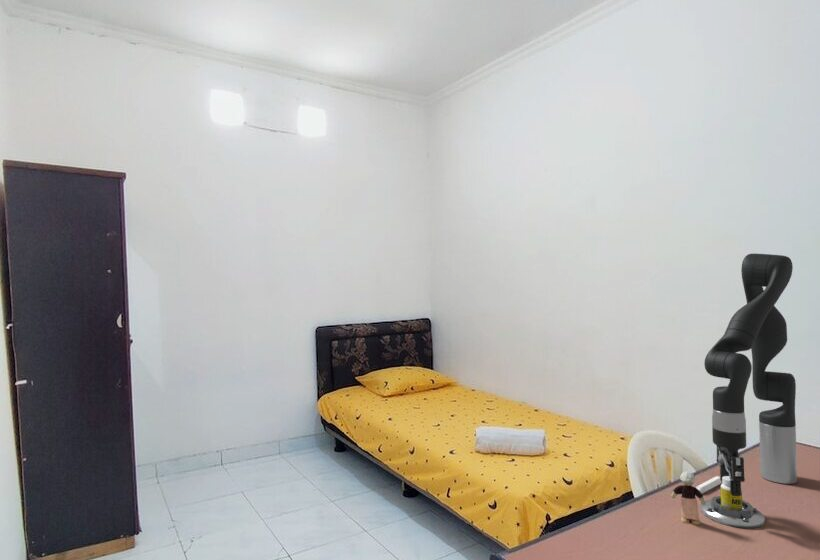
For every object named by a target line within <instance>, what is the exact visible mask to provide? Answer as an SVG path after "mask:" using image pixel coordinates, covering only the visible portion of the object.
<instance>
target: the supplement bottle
mask: <svg viewBox="0 0 820 560" xmlns="http://www.w3.org/2000/svg"><path fill="white" fill-rule="evenodd" d="M720 496H721V505H722V506H724V507H728V508H732V509H742V500H743V488H742V487H741V496H734V495H732V494H731V493H730V477H729V476H723V477H722V483H721V484H720Z"/></svg>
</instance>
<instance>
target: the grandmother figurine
mask: <svg viewBox="0 0 820 560" xmlns="http://www.w3.org/2000/svg"><path fill="white" fill-rule="evenodd" d="M679 479H680V481H682V483H683V484H684V485H683V484H681V485H678V486H676V487H675V488H674V489H672V493H671V494H670V497H671V498H672V499H675V498H676V497H677V496H678V495H681V496H680V514H681V515H680V517H681V518H680V520H681V521H682V522H683V523H685V524H689V523H690V520H691V524H692V525H700V524H701V523H702V521H701V520H700V518H699V517H700V516H699V509H698V507H699V506H698V500H697V498H698V499H699V501H700V503H701V504H703V505H705V504H706V502H705V501H706V500H705V498H704V495H703V494H701V493H700V491H699V490H698V489H697V488H696V487H695V486H693V485H694V483H695V480H696V478H695V475H694V473H693V472H691V471H688V470H685V471H683V472H682V473H681V475H680V477H679Z"/></svg>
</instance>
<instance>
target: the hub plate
mask: <svg viewBox="0 0 820 560" xmlns="http://www.w3.org/2000/svg"><path fill="white" fill-rule="evenodd" d="M704 501H705V502H706V504H705V505H703V504H702V503H701V504H700V510H701V513H702V514H703V515H704V516H705V517H706V518H708V519H710V520H712V521H713V522H716V523H719V524H720V525H721V524H722V525H726V526H729V527H733V528H740V529H758V528H761V527H763V526H764V525H765V515H764V514H763V513H762V512H761V511H760V510H758V508H756V507H753V505H752V504H751V503H750V502H747V501H745V500H743V499H742V509H732V508H728V507H724V506H722V505H721V495H719V496H717V495H716V496H712V497H711V499H708V500H704Z"/></svg>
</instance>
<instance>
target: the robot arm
mask: <svg viewBox="0 0 820 560" xmlns="http://www.w3.org/2000/svg"><path fill="white" fill-rule="evenodd" d="M740 270H741V279H742V280H741V281H742V285H743V290H744V296H745V299H746V304H745V305H743V306H742V307H740V308H738V310H737V311H736V312H735V313H734V314H733V315H732V317H731V318H730V321H729V322H728V325H727V327H726V329H725V332H724V334H723V335H722V336H721V338H719V339H718V341H717V342H716V343H715V344H714V345H713V346H712V347H711V348H710V349H709V350H708V352H707V354H706V356H705V358H704V369H705V371H706V373H707V374H708V375H710V376H713V377H716V378H722V379H728V380H729V383H728V385H727V386H726V385H725V386H723V385H722V386H717V387H715V388H714V389H713V390H712V415H711V421H712V422H711V424H712V425H711V426H712V428H711V429H712V443H713V444H714V445H716V463H718V465H717V466H718V467H719V471H720V472H719V477H720V480H721V482H722V477H723V476H729V477H730V493H731V494H732V495H734V496H741V488H742V485H741V483H742V482H744V483H745V464H744V463H745V459H744V457H741V454H739V450H741V449H745V448H747V423H746V415H745V395H746V391H747V387H748V384H749V381H750V380H749V379H750V377H751V376H752V391H753V395H754V397H755V398H756V399H757V400H761V401H765V402H777V403H782V405H780V406H778V407H777V408H773V409H768V410H763V411H761V412H759V415H758V421H759V422H758V427H759V429H758V430H759V435H758V436H759V471H760V473H759V474H760V477H761V478H762V479H765V480H767V481H769V482H773V483H778V484H779V483H780V484H786V485H789V484H791V485H792V484H796V483H797V482H798V471H797V470H798V468H797V467H798V464H797V463H798V462H797V461H798V460H797V430H796V429H797V428H796V425H797V424H796V395H797V394H796V393H797V392H796V390H797V389H796V387H797V384H796V378H795V376H794V375H793V374H792V373H787V372H779V371H766V369H767V367H768V365H770V363H771V361H772V360H774V358H775V357H776V356H778V355H779V354H780V352H781V351H782V350H783V349H784V348H785V347H786V346H787V342H788V329H787V321H786V319H785V317H784V316H783V314H782V313H781V312H780V311H779V309H778V308H777V307H776V306H775V304H776V303H777V302H778V300H779V299H780V298H781V295H782V294H783V293H784V291H785V289H786V288H787V286H788V284H789V283H790V280H791V277H792V275H793V262H792V260H791V258H790V257H789V256H787V255H781V254H770V253H769V254H767V253H749V254H747V255H745V256H744V258H743V260H742V264H741V269H740ZM763 287H765V288H763ZM746 351H751V357H752V363H751V361H750V359H749V358H748V356H746V354H743V353H740V352H746Z"/></svg>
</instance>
